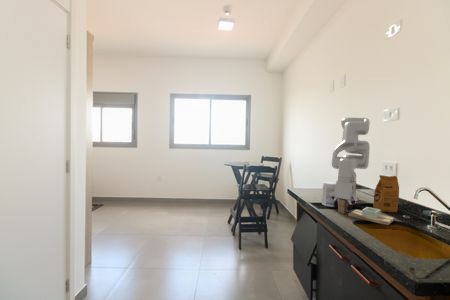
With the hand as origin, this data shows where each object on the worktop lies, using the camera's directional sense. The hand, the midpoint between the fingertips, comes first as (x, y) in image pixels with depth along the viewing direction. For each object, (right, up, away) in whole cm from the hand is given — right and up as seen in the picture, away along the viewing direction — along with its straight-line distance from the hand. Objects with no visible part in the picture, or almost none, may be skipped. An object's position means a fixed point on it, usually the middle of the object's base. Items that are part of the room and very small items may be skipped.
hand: (342, 209), depth 164 cm
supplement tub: (-2, -1, +16) cm, 16 cm away
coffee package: (+30, -3, +9) cm, 31 cm away
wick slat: (0, -2, 0) cm, 2 cm away
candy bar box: (+10, -1, +18) cm, 21 cm away
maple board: (+12, -3, -9) cm, 15 cm away
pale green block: (+12, -2, -9) cm, 15 cm away
